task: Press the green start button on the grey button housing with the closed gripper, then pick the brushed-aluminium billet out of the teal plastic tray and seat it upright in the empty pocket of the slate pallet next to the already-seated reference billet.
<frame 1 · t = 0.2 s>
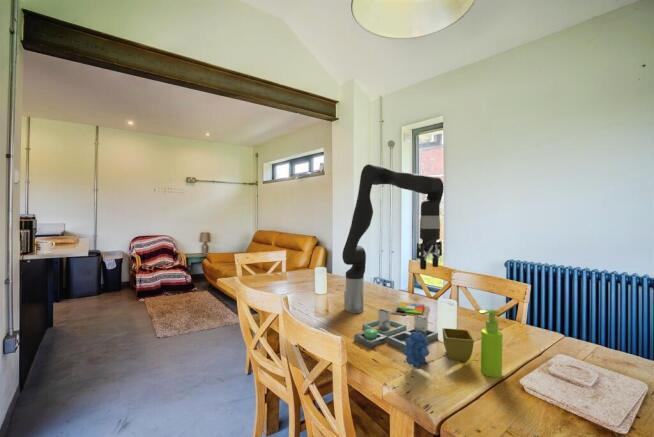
hand: (429, 268, 122), 29 cm above the table, fingers open, 8 cm apart
start button: (370, 335, 119), point 3 cm above the table, slide at 0.0 cm
reference billet: (420, 337, 122), point 1 cm above the table, touching pallet
wooden puzzle: (410, 313, 157), on the table
grey button housing: (370, 343, 119), on the table
grapes: (418, 369, 100), on the table
soap dispenser: (489, 373, 98), on the table
billet: (384, 329, 131), point 1 cm above the table, touching tray
tray: (384, 331, 131), on the table
pallet: (413, 343, 119), on the table
flower pot: (457, 359, 107), on the table
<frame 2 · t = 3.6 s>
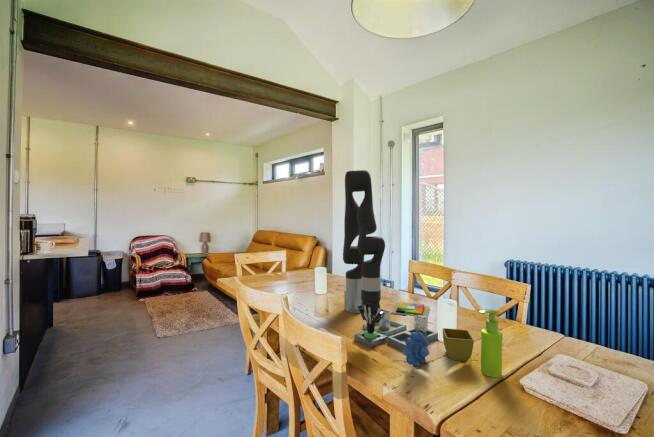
hand: (370, 332, 119), 4 cm above the table, fingers closed
start button: (370, 336, 119), point 3 cm above the table, slide at 0.5 cm, touching gripper
everything else where it was.
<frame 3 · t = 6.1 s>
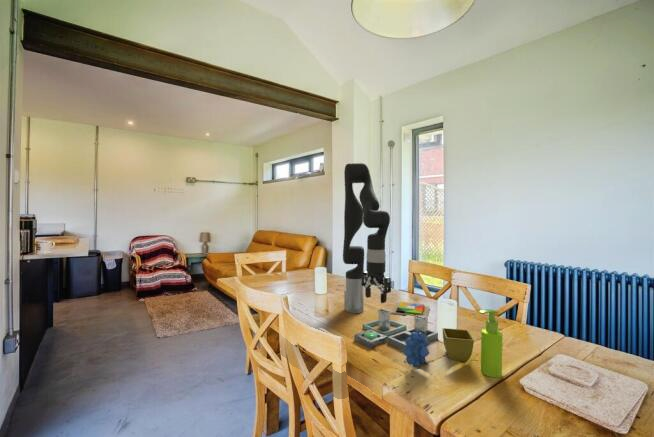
hand: (375, 299, 124), 15 cm above the table, fingers open, 8 cm apart
start button: (370, 338, 119), point 2 cm above the table, slide at 1.4 cm
everything else where it was.
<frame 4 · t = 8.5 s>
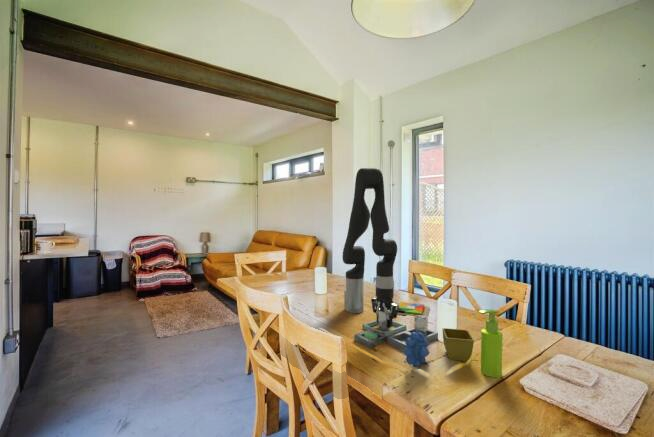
hand: (384, 325, 131), 3 cm above the table, fingers closed on billet, 5 cm apart
billet: (384, 329, 131), point 1 cm above the table, touching gripper, tray
everything else where it was.
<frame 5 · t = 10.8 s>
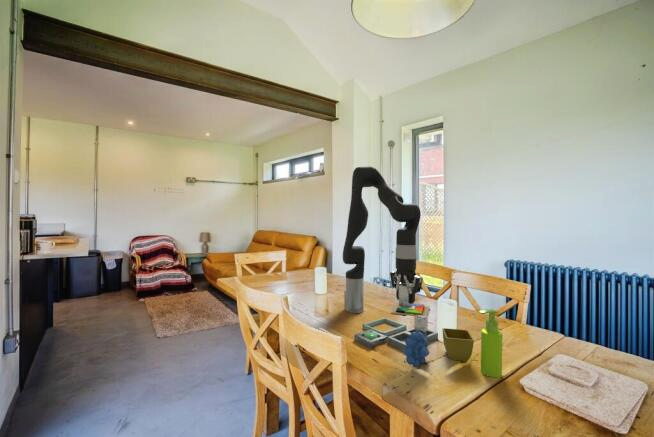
hand: (405, 301, 116), 17 cm above the table, fingers closed on billet, 5 cm apart
billet: (405, 306, 116), point 15 cm above the table, touching gripper
everything else where it was.
when the fingers open (5 cm above the table, at t = 13.5 s): billet drops 2 cm, resting on pallet.
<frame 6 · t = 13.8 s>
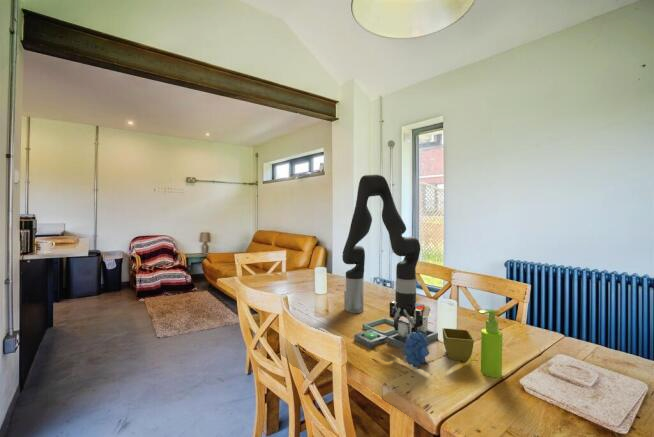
hand: (405, 333, 116), 5 cm above the table, fingers open, 7 cm apart
billet: (404, 343, 116), point 1 cm above the table, touching pallet
everything else where it was.
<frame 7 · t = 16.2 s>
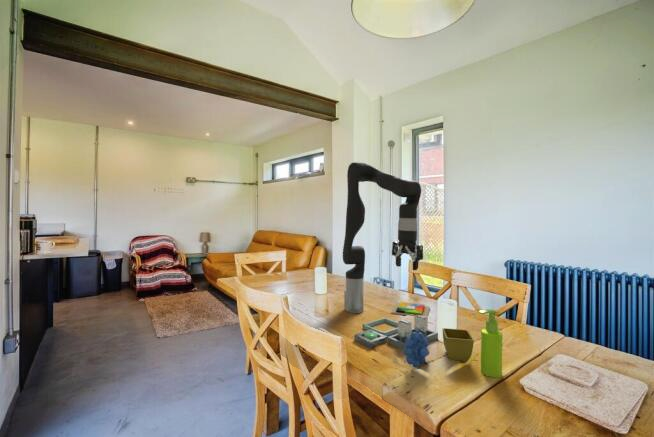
hand: (406, 268, 127), 28 cm above the table, fingers open, 8 cm apart
nothing on the table moved.
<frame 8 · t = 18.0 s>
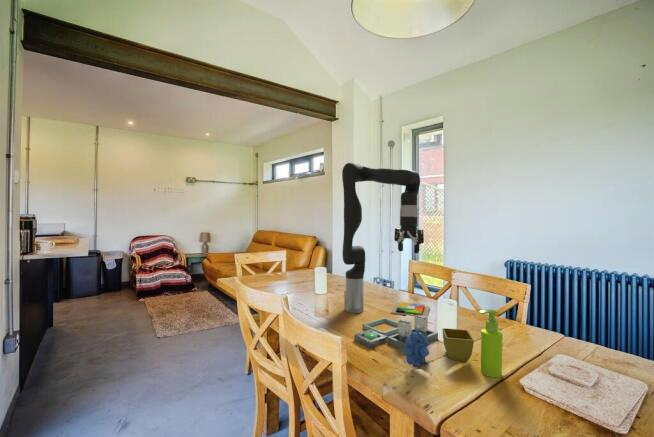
hand: (408, 252, 136), 33 cm above the table, fingers open, 8 cm apart
nothing on the table moved.
at the end: billet 0.2 cm from the target spot, point 1.3 cm above the table; billet tilted 2°; start button slide at 1.4 cm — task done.
